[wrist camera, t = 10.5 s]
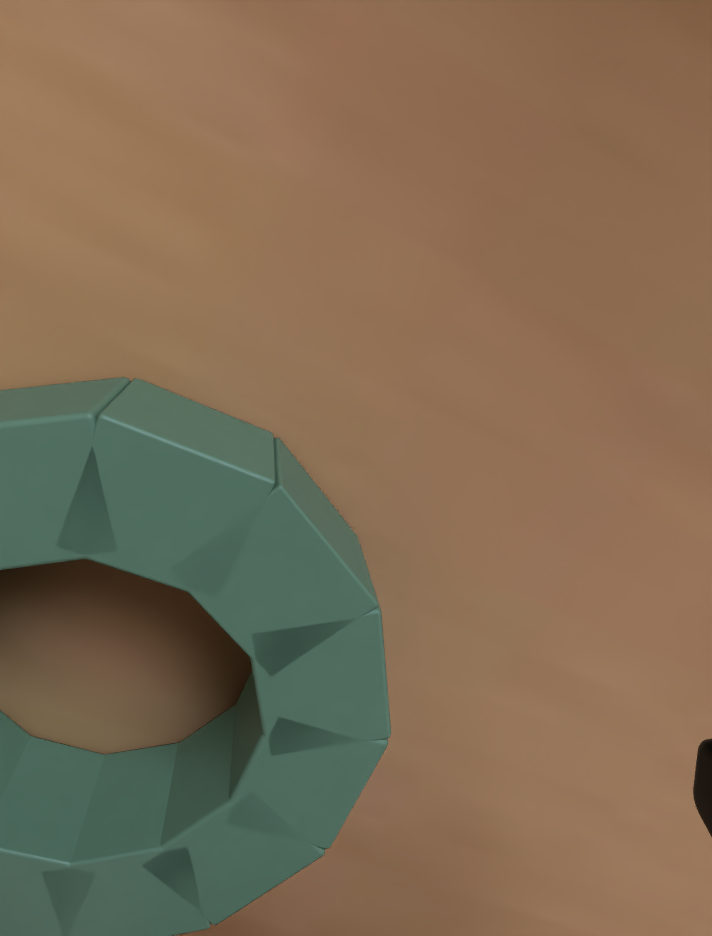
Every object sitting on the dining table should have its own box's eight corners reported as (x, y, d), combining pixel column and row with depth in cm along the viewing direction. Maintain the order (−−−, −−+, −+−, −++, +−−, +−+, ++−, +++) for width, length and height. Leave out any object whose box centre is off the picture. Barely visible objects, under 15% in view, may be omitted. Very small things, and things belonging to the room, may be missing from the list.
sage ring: (381, 786, 14) (405, 893, 11) (-75, 865, 13) (-148, 997, 11) (342, 352, 11) (362, 381, 8) (-264, 417, 10) (-423, 468, 7)
